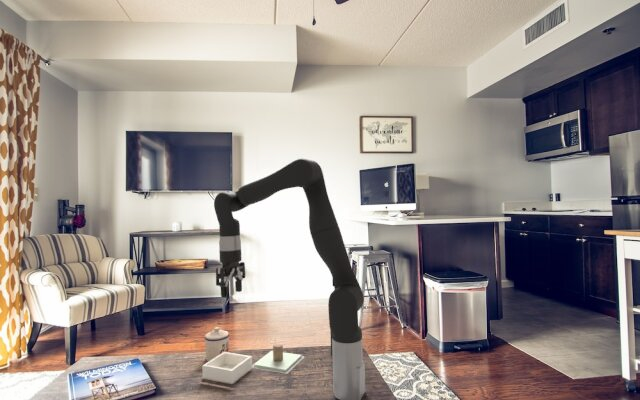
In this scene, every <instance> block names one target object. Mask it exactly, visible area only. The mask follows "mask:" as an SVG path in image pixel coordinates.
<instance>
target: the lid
mask: <svg viewBox="0 0 640 400" xmlns="http://www.w3.org/2000/svg"><path fill="white" fill-rule="evenodd" d="M283 348H284V346H283V344H281V343H277V344H276V343H275V344H274V345H273V346H272V350H270V351H269V352H267V353H266V354H265V355H264V356H263V357H261V358H260V359H259V360H257V361H256V362H255V363H253V364H254V367H259V368H265V369H271V370H276V371H282V372H286V371H287V370H289V369H290V368H291V367H292V366H293V365H294V364H295V363H296V362H297V361H298V360H299V359H300V358H301V357H302V356H303V355H302V354H298V353H297V354H296V353H290V352H284V349H283Z"/></svg>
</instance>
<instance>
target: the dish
mask: <svg viewBox="0 0 640 400" xmlns="http://www.w3.org/2000/svg"><path fill="white" fill-rule="evenodd" d="M252 365H253V356H252V355H247V354H242V353H240V354H239V353H233V352H230V351H229V352H223V353H222V354H220V355H218V356H217V357H215V358H214V359H212V360H210V361H209V362H208V361H206V363H204V364H203V365H202V369H201V371H202V379H203V380H208V381H213V382H218V383H221V384H222V383H223V384H227V385H234V384H235V383H236V382H238V381H239V380H240V379H242V378H243V377H244V376H245V375H246V374H247V373H249V372H250V371H252V370H253V369H254V368H252Z"/></svg>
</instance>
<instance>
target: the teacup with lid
mask: <svg viewBox="0 0 640 400" xmlns="http://www.w3.org/2000/svg"><path fill="white" fill-rule="evenodd" d="M229 336H230V334H229V331H227V330H223V329H220V327H219V326H217V327H214V328H213V330H211V331H209V332H207V333H206V334H205V335H204V340H205V360H206V362H209V361H210V360H212V359H214V358H215V357H217V356H218V355H220V354H222V353H223V352H229V353H230V345H229V344H230V342H229V341H230V339H229Z"/></svg>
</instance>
